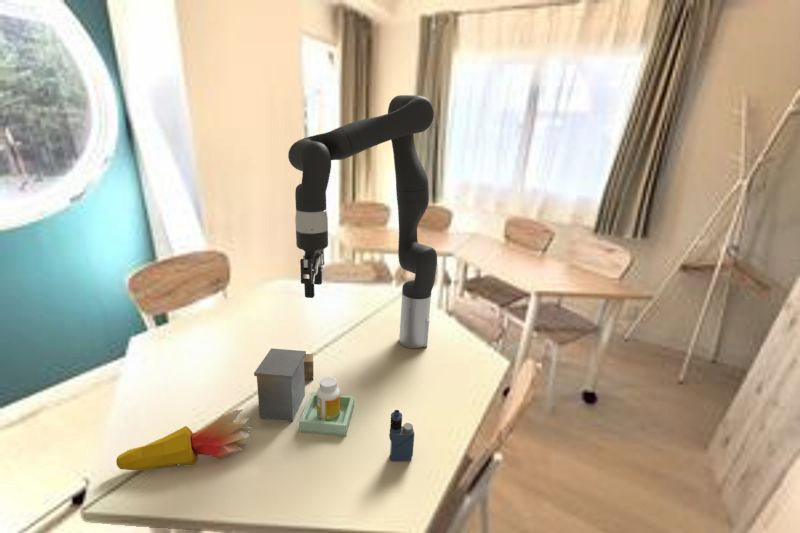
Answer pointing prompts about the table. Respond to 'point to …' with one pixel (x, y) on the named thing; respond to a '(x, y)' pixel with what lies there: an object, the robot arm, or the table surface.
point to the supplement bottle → (328, 400)
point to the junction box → (281, 384)
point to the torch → (189, 445)
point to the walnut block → (308, 367)
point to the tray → (338, 427)
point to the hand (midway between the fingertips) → (313, 290)
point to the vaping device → (400, 438)
